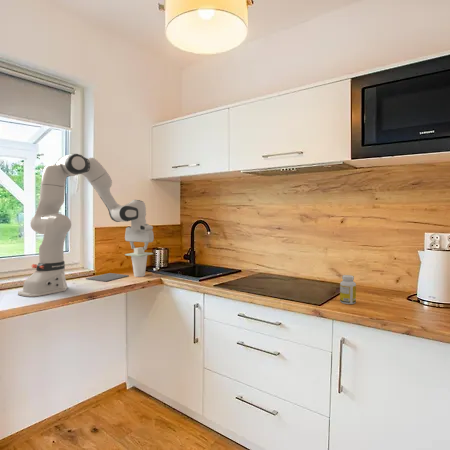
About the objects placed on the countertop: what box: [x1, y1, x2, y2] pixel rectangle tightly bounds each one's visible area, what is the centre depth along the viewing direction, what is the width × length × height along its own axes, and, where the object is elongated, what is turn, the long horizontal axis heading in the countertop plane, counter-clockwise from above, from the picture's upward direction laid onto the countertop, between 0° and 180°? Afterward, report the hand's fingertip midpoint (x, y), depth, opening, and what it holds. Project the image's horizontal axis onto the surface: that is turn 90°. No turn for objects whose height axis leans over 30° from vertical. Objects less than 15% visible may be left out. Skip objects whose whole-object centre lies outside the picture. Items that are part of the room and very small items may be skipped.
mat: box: [85, 272, 129, 283], centre depth 201 cm, size 18×16×1 cm
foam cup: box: [130, 255, 148, 278], centre depth 206 cm, size 10×9×13 cm
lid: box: [124, 246, 154, 257], centre depth 206 cm, size 12×12×4 cm
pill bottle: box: [339, 274, 357, 305], centre depth 146 cm, size 6×6×12 cm
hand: (139, 249), depth 206 cm, fingers open, 8 cm apart
